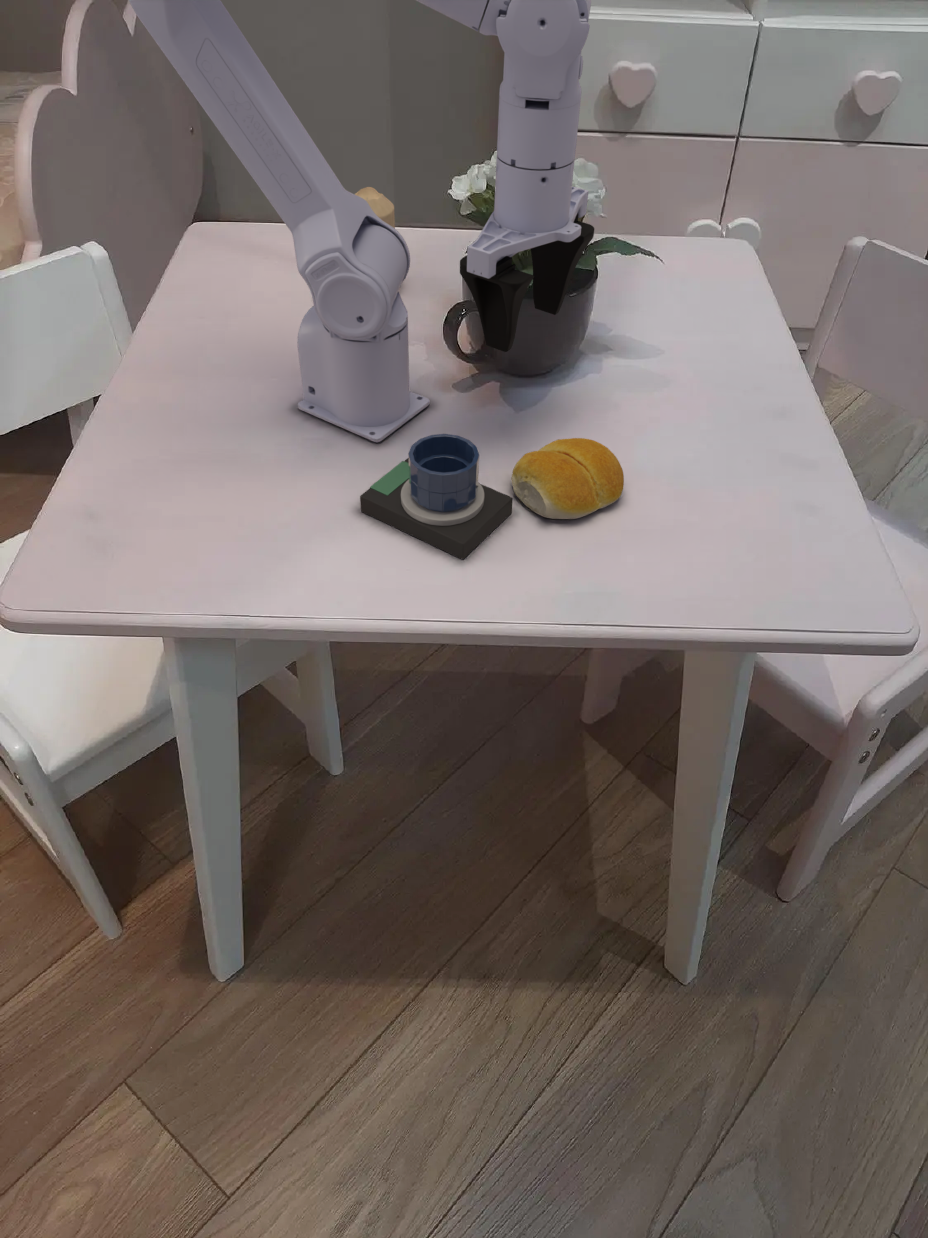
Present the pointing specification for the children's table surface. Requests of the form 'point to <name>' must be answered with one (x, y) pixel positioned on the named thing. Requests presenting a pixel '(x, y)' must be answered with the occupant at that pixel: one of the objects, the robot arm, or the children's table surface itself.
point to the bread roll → (568, 478)
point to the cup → (443, 472)
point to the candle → (378, 204)
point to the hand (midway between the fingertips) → (523, 328)
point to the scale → (435, 513)
